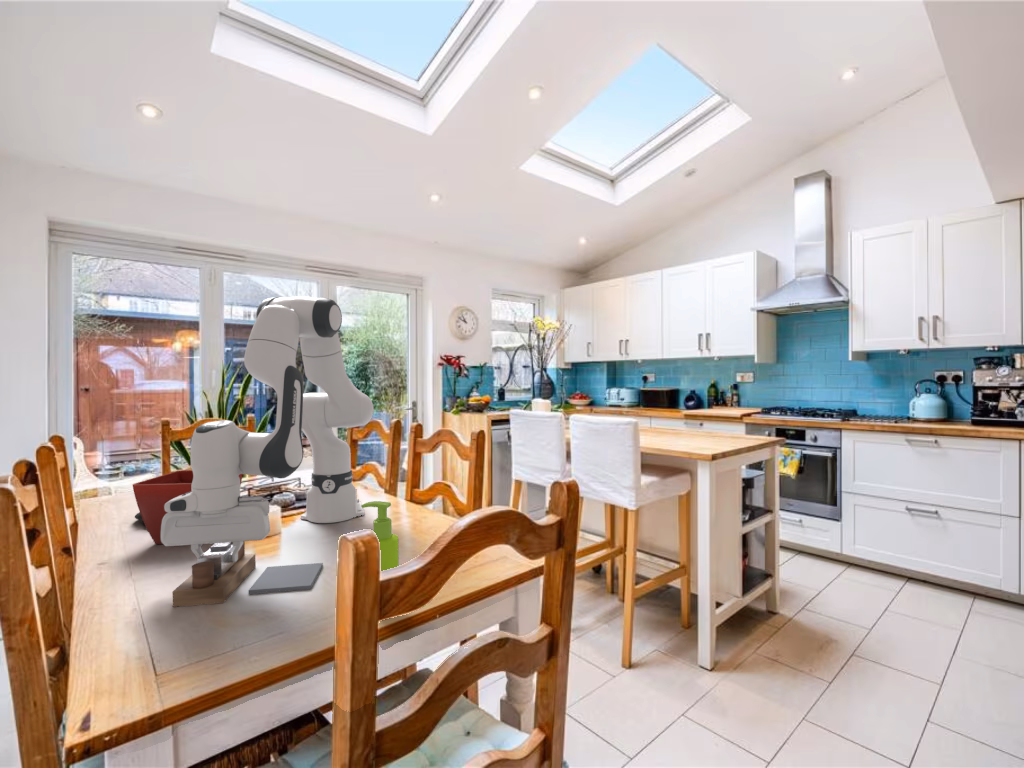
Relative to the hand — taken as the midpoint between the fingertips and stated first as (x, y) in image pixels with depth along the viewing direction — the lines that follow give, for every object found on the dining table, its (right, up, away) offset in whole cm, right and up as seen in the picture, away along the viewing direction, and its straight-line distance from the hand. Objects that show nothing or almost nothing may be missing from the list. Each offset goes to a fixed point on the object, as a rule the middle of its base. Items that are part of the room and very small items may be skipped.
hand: (218, 562), depth 102 cm
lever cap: (0, -2, 0) cm, 2 cm away
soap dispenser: (+37, -5, -10) cm, 39 cm away
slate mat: (+14, -5, +2) cm, 15 cm away
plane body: (0, -5, 0) cm, 5 cm away
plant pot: (-26, -4, +31) cm, 40 cm away
